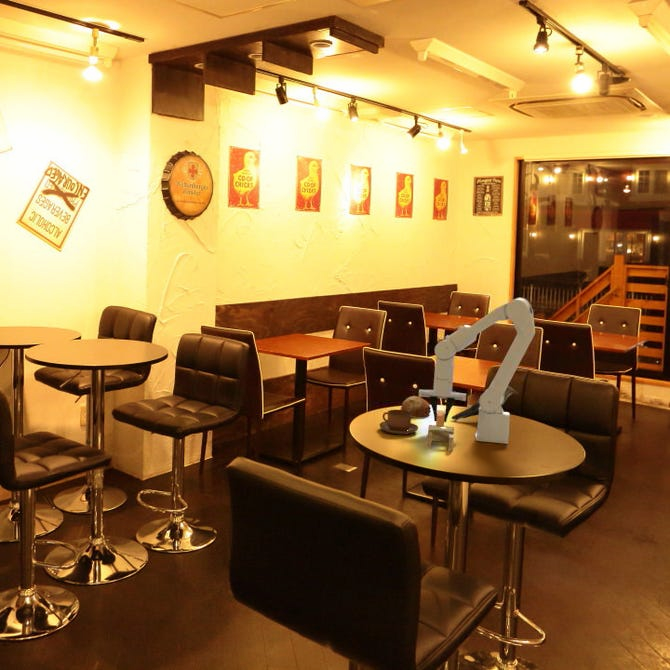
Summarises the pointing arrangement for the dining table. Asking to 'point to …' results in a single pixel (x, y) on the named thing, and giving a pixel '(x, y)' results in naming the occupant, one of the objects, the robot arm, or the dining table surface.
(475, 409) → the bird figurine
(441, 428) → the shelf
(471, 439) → the dining table surface
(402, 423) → the cup and saucer
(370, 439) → the dining table surface
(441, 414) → the orange long block
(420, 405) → the bread roll
